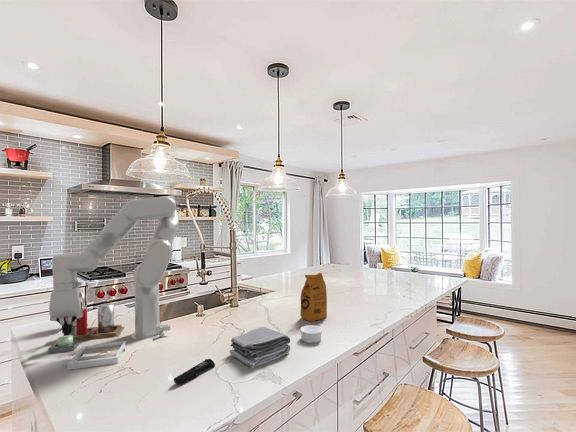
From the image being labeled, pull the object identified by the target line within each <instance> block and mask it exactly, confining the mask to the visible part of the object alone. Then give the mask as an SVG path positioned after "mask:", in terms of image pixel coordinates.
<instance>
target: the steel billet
mask: <svg viewBox="0 0 576 432" xmlns="http://www.w3.org/2000/svg"><path fill="white" fill-rule="evenodd" d="M114 325H115V304H114V303H112V302H109V303H108V302H107V303H101V304H98V305H97V327H98V333H108V332H114Z"/></svg>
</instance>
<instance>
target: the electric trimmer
mask: <svg viewBox="0 0 576 432" xmlns="http://www.w3.org/2000/svg"><path fill="white" fill-rule="evenodd" d="M215 366H216V364H215V362H214V360H212V359H211V358H205V359H204V360H203V361H202V362H200V363H198V364H197V365H194V366H193V367H191V368H190V369H188V370H186V371H185V372H183V373H181V374H179V375H178V376H176V377H174V378H173V383H175V384H177V385H182V384H185V383H187V382H189V381H191V380H193V379H196V378H197V376H198V375H200V374H202V373H203V372H205V371H207V370H209V369H210V368H215Z"/></svg>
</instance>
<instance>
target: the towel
mask: <svg viewBox="0 0 576 432" xmlns="http://www.w3.org/2000/svg"><path fill="white" fill-rule="evenodd" d="M230 342H231V344H230V347H232V349H229V354H230V356H231V357H233V358H235V359H237V360H238V361H241V362H242V363H243V364H245V365H247V366H248V367H250V368H252V369H256V368H258V367H261V366H264V365H265V364H269V363H271V362H273V361H275V360H278V359H279V358H283V357H284V356H286V355H287V354H289V352H290V351H291V346H290V345H289V344H290V343H291V338H290V336H287V335H286V334H284V333H281V332H279V331H277V330H274V329H271V328H269V327H266V326H260V327H256V328H254V329H252V330H250V331H248V332H246V333H243V334H240V335H237V336H234V337H232V338H231V341H230Z"/></svg>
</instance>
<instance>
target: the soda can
mask: <svg viewBox="0 0 576 432" xmlns="http://www.w3.org/2000/svg"><path fill="white" fill-rule="evenodd" d="M82 312H83V317H81V318H78V319H75V320H74V322H73V331H72V332H71V335H72V336H79V335H86V334H87V328H88V309H87V306H84V310H83V311H82Z"/></svg>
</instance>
